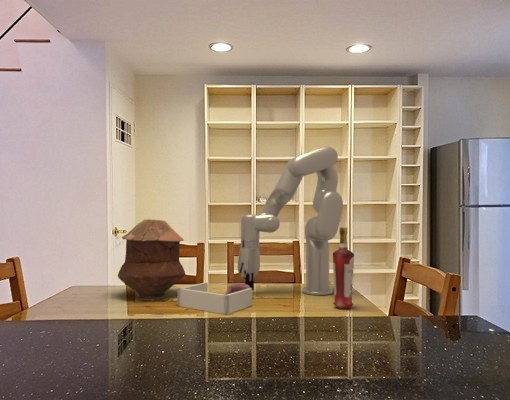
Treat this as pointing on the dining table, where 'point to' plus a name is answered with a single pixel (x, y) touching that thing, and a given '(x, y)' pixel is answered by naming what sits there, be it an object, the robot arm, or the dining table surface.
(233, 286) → the video game controller
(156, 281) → the pottery vessel
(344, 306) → the red glass bottle
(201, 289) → the bin
